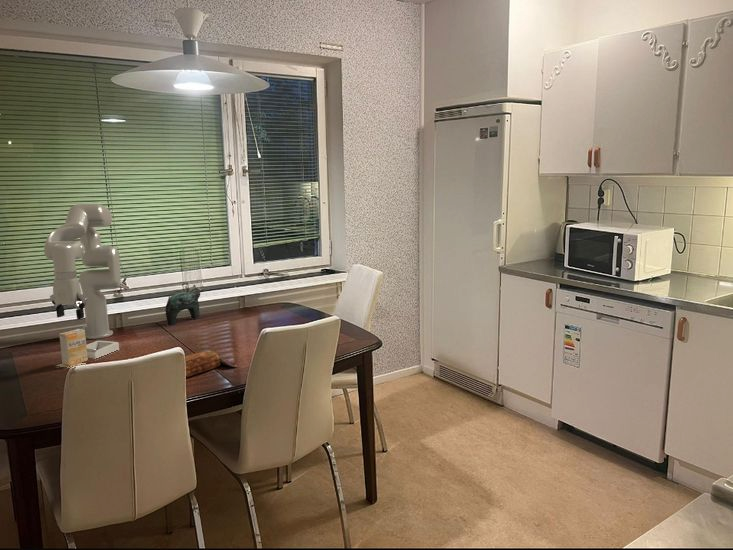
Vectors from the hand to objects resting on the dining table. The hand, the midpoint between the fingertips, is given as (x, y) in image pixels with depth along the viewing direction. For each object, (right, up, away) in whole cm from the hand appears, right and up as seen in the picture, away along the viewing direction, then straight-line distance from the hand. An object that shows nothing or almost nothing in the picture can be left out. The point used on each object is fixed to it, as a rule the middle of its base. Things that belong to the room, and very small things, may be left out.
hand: (70, 317), depth 222 cm
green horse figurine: (+24, -7, +67) cm, 71 cm away
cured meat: (+54, -21, -5) cm, 58 cm away
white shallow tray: (+3, -17, +16) cm, 23 cm away
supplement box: (0, -19, +3) cm, 19 cm away
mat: (0, -19, +3) cm, 19 cm away
